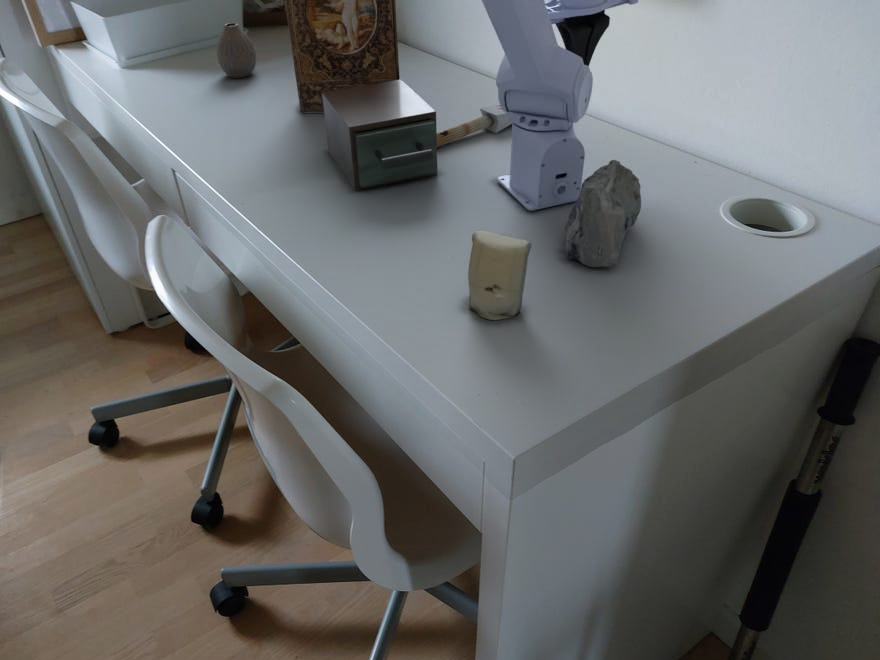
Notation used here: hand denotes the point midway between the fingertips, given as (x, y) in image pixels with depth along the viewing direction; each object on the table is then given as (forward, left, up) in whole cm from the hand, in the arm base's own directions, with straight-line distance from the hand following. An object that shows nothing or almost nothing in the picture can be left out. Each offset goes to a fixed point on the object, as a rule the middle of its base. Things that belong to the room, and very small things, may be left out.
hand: (578, 72), depth 93 cm
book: (+31, +23, -11) cm, 40 cm away
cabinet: (+8, +25, -11) cm, 29 cm away
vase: (+56, +37, -11) cm, 68 cm away
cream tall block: (-30, +25, -11) cm, 41 cm away
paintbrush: (+12, +7, -11) cm, 18 cm away
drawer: (+4, +25, -10) cm, 27 cm away
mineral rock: (-23, +8, -11) cm, 27 cm away
